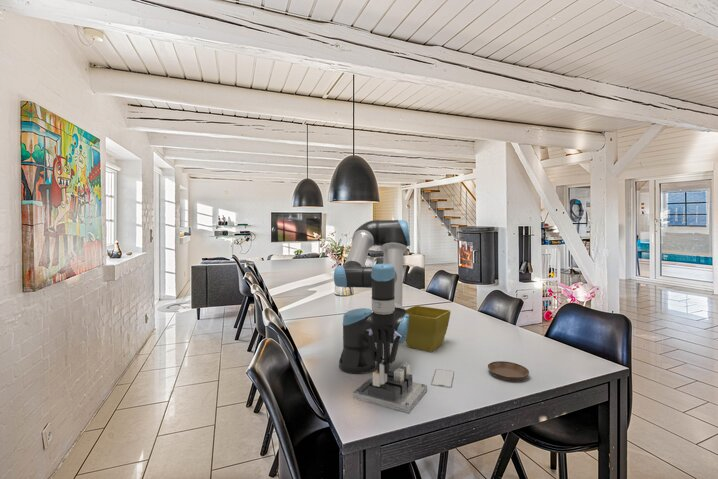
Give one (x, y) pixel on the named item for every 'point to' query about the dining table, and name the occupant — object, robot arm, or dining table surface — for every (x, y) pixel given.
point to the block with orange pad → (376, 379)
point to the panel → (391, 403)
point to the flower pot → (426, 327)
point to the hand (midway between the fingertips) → (383, 382)
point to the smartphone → (443, 378)
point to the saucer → (508, 370)
